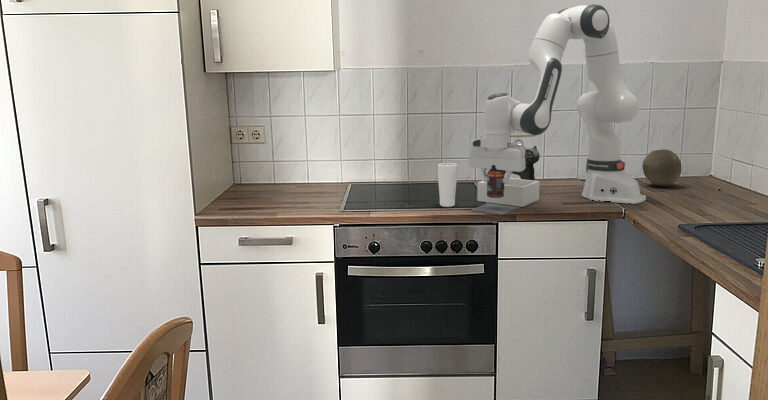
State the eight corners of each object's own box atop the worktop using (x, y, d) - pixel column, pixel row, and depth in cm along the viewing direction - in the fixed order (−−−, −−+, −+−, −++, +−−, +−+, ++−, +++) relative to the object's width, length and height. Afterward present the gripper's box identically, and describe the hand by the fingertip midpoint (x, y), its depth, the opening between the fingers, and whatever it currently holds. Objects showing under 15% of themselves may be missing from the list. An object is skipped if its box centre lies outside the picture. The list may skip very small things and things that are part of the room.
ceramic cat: (539, 190, 246) (541, 140, 241) (532, 193, 240) (534, 142, 236) (493, 185, 257) (494, 137, 253) (486, 188, 252) (487, 139, 248)
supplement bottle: (507, 196, 213) (508, 164, 211) (498, 199, 209) (499, 166, 207) (492, 194, 217) (493, 162, 215) (483, 196, 213) (484, 164, 211)
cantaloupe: (650, 182, 259) (653, 146, 256) (685, 186, 249) (688, 149, 246) (635, 186, 250) (637, 149, 247) (670, 191, 240) (673, 153, 236)
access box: (538, 199, 229) (539, 181, 227) (522, 206, 218) (523, 187, 216) (495, 194, 239) (495, 176, 238) (477, 200, 228) (477, 182, 227)
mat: (518, 208, 215) (518, 207, 215) (503, 215, 206) (503, 214, 206) (488, 204, 222) (488, 203, 222) (471, 210, 213) (471, 209, 213)
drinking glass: (455, 208, 217) (456, 165, 214) (436, 207, 219) (436, 165, 216) (457, 203, 224) (458, 162, 221) (438, 203, 225) (439, 162, 222)
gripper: (529, 143, 206) (528, 183, 208) (475, 139, 218) (474, 178, 221) (521, 145, 201) (519, 186, 204) (466, 141, 213) (465, 180, 216)
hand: (495, 182), depth 212 cm, fingers closed on supplement bottle, 6 cm apart
